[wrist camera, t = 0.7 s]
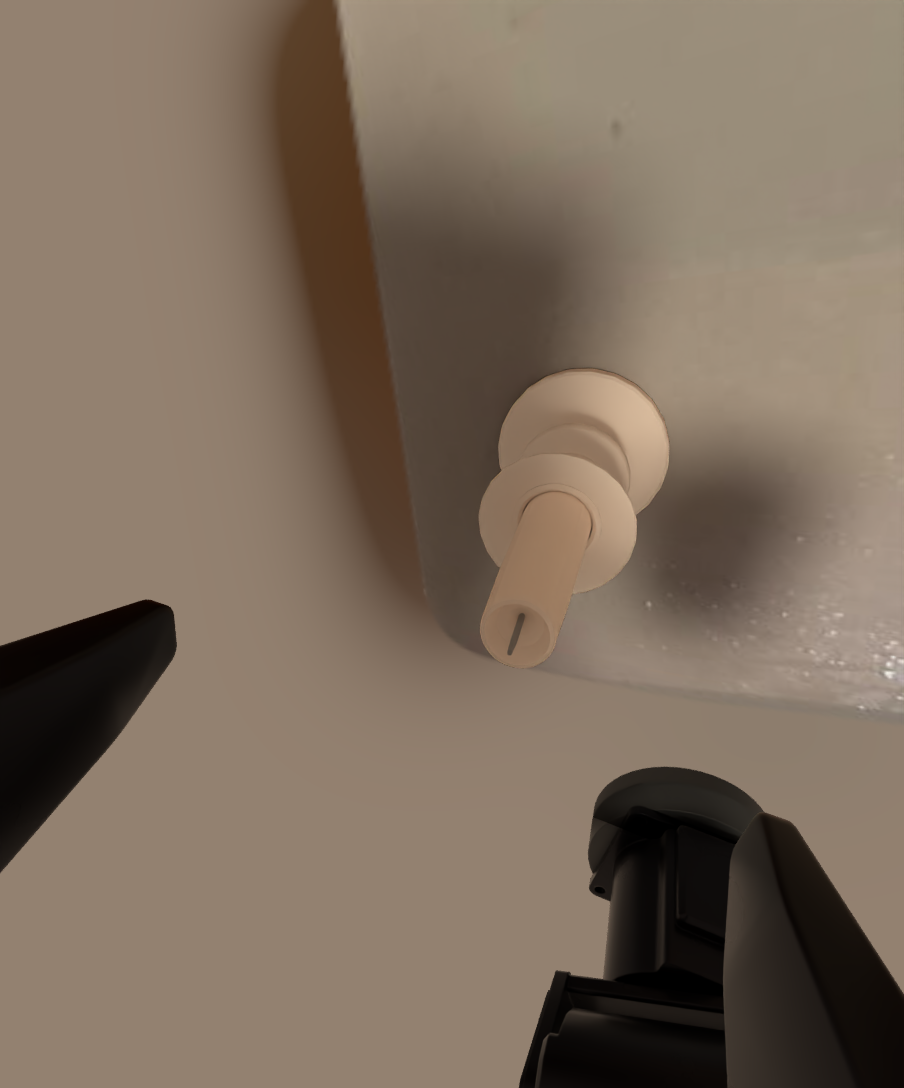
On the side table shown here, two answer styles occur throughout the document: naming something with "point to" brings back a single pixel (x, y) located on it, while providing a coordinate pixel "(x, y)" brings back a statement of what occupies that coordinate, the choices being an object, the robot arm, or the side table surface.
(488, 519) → the candle
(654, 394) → the side table surface
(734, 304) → the side table surface
